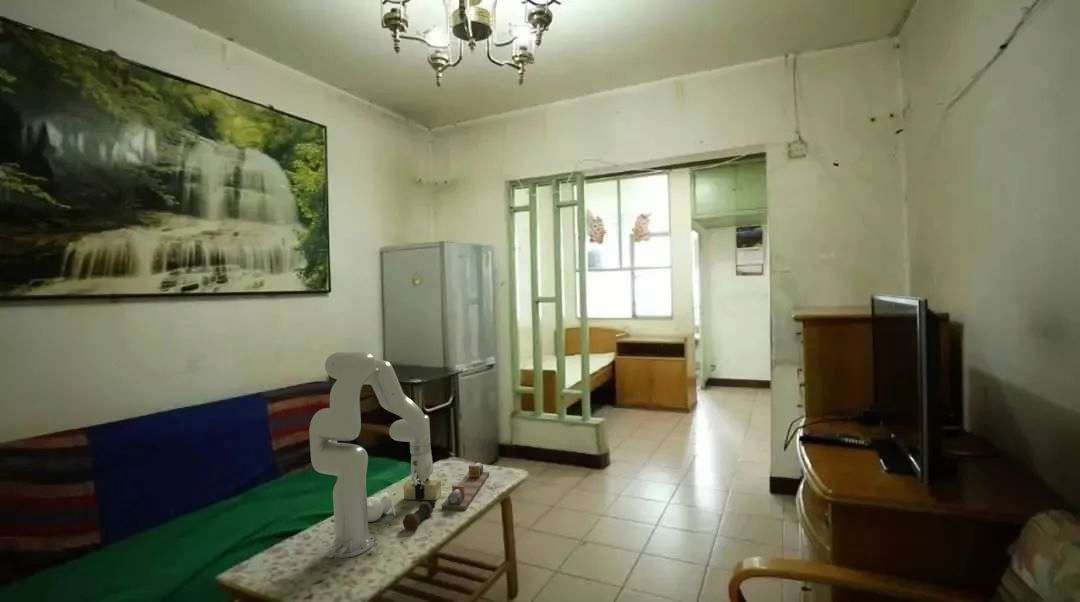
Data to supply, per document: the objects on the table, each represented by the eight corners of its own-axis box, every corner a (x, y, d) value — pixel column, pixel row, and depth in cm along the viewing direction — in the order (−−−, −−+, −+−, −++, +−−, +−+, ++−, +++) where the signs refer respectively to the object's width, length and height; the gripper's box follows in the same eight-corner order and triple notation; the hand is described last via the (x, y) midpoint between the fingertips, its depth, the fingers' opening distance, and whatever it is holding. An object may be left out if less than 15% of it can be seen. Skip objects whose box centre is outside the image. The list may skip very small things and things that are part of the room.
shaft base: (465, 510, 159) (465, 492, 159) (441, 509, 161) (440, 492, 160) (489, 475, 189) (488, 461, 189) (468, 475, 190) (467, 460, 190)
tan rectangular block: (436, 500, 168) (435, 485, 168) (404, 499, 170) (403, 484, 170) (441, 494, 172) (440, 480, 172) (409, 493, 174) (408, 479, 174)
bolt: (434, 514, 161) (412, 535, 147) (422, 506, 162) (400, 526, 148) (441, 500, 161) (419, 520, 146) (429, 492, 162) (407, 511, 147)
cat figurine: (386, 483, 163) (360, 496, 152) (406, 502, 159) (381, 517, 148) (377, 501, 165) (350, 516, 154) (396, 521, 161) (371, 537, 150)
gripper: (420, 456, 162) (422, 506, 162) (438, 441, 179) (440, 486, 179) (400, 455, 163) (403, 505, 163) (420, 440, 180) (422, 486, 180)
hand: (422, 495), depth 171 cm, fingers closed on tan rectangular block, 4 cm apart
